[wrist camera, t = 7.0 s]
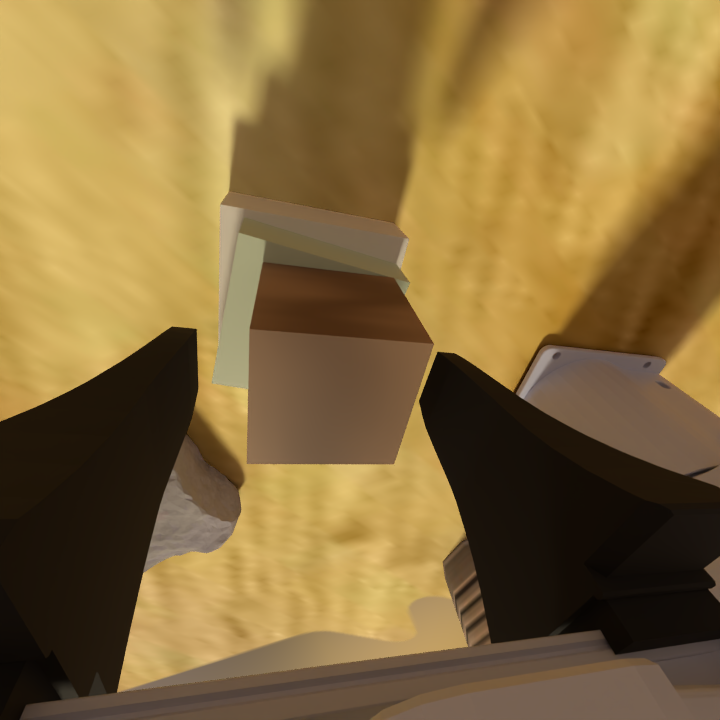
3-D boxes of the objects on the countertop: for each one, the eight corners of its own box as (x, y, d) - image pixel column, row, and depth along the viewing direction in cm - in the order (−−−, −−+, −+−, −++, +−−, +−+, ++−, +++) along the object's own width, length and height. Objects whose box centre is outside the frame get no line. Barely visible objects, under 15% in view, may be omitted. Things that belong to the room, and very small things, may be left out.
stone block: (-9, 447, 22) (94, 554, 26) (-87, 507, 17) (51, 626, 22) (179, 378, 22) (252, 496, 26) (148, 421, 17) (241, 556, 22)
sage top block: (396, 264, 15) (410, 282, 13) (349, 379, 18) (355, 406, 16) (244, 216, 13) (238, 232, 11) (219, 355, 16) (211, 383, 14)
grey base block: (391, 220, 17) (409, 239, 14) (359, 348, 21) (368, 380, 18) (230, 188, 15) (220, 204, 13) (226, 335, 19) (218, 369, 16)
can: (557, 508, 33) (670, 675, 23) (545, 566, 40) (629, 715, 30) (436, 541, 33) (499, 724, 23) (443, 595, 40) (495, 754, 30)
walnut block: (393, 277, 13) (434, 343, 9) (369, 379, 15) (393, 464, 12) (262, 262, 12) (249, 329, 8) (258, 373, 14) (246, 463, 11)
